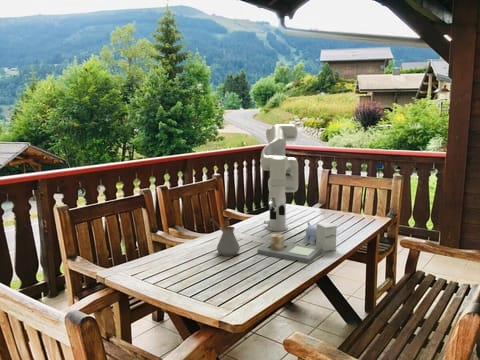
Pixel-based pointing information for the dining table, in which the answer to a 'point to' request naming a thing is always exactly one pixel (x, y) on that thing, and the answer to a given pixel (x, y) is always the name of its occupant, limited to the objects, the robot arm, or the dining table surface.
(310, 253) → the puzzle board
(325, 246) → the supplement box
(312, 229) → the hippopotamus toy
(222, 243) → the coffee pot
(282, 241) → the maple block
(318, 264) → the dining table surface
